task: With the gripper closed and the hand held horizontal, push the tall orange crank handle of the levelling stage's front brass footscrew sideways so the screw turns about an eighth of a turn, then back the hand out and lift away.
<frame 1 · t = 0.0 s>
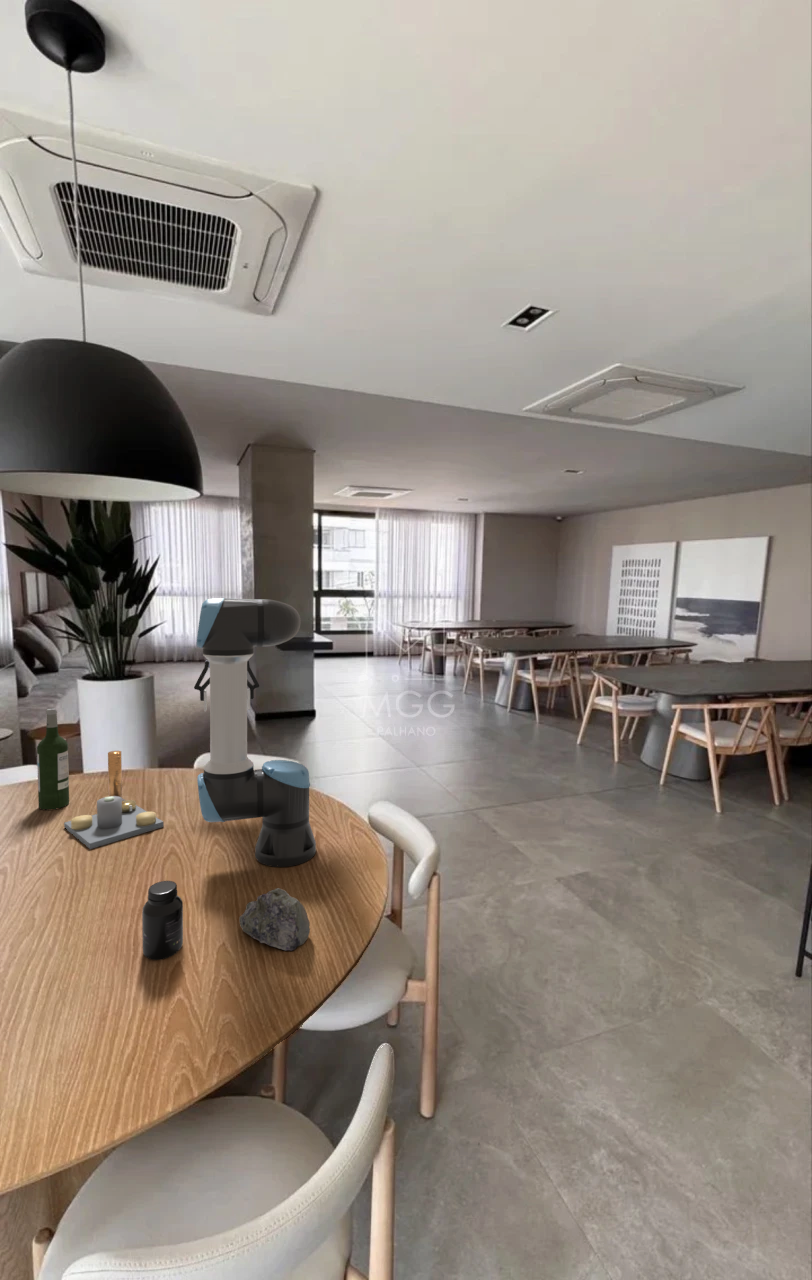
hand: (227, 709, 179), 28 cm above the table, tool pointing down, fingers open, 13 cm apart
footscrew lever: (121, 780, 162), point 10 cm above the table, hinge at 0.0°
supplement bottle: (163, 950, 100), on the table
levelling stage: (114, 827, 152), on the table
mineral rock: (275, 937, 105), on the table
wine bottle: (54, 806, 167), on the table
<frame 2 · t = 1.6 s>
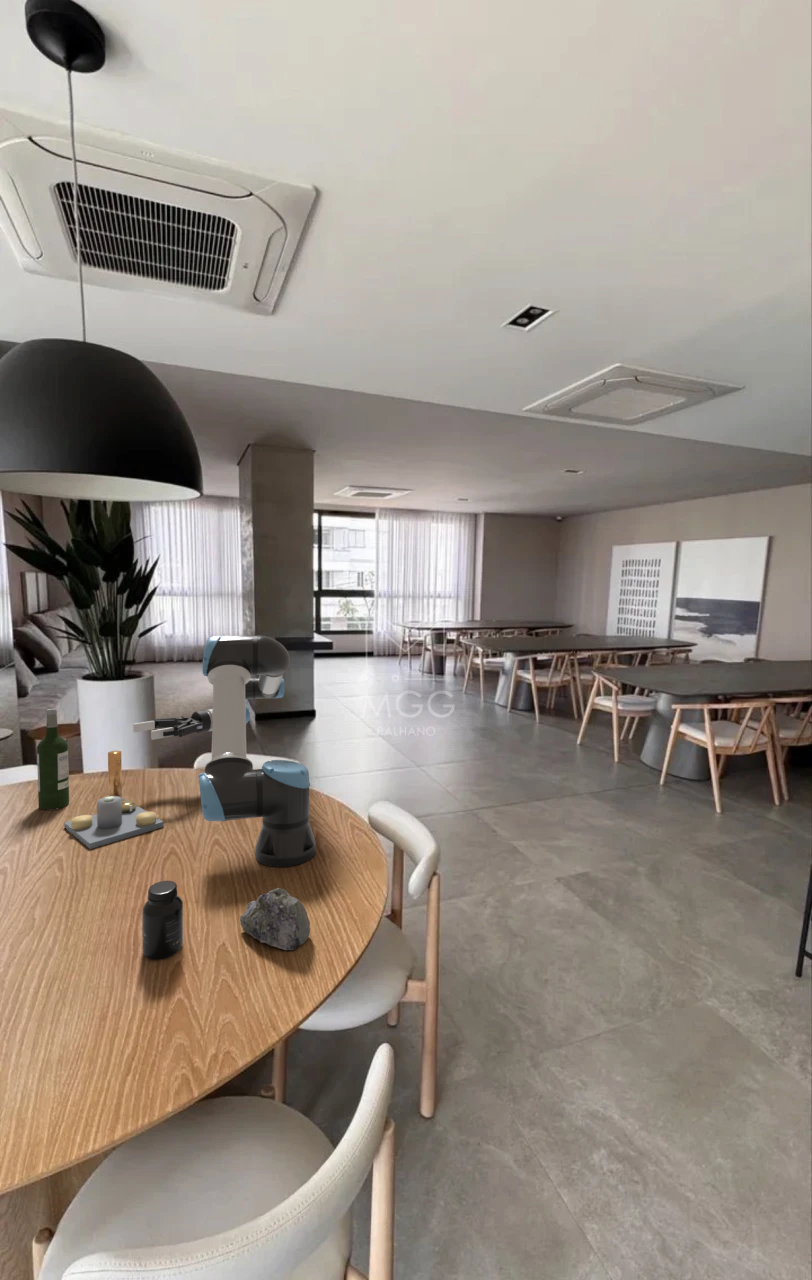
hand: (142, 731, 171), 22 cm above the table, tool horizontal, fingers open, 12 cm apart
nothing on the table moved.
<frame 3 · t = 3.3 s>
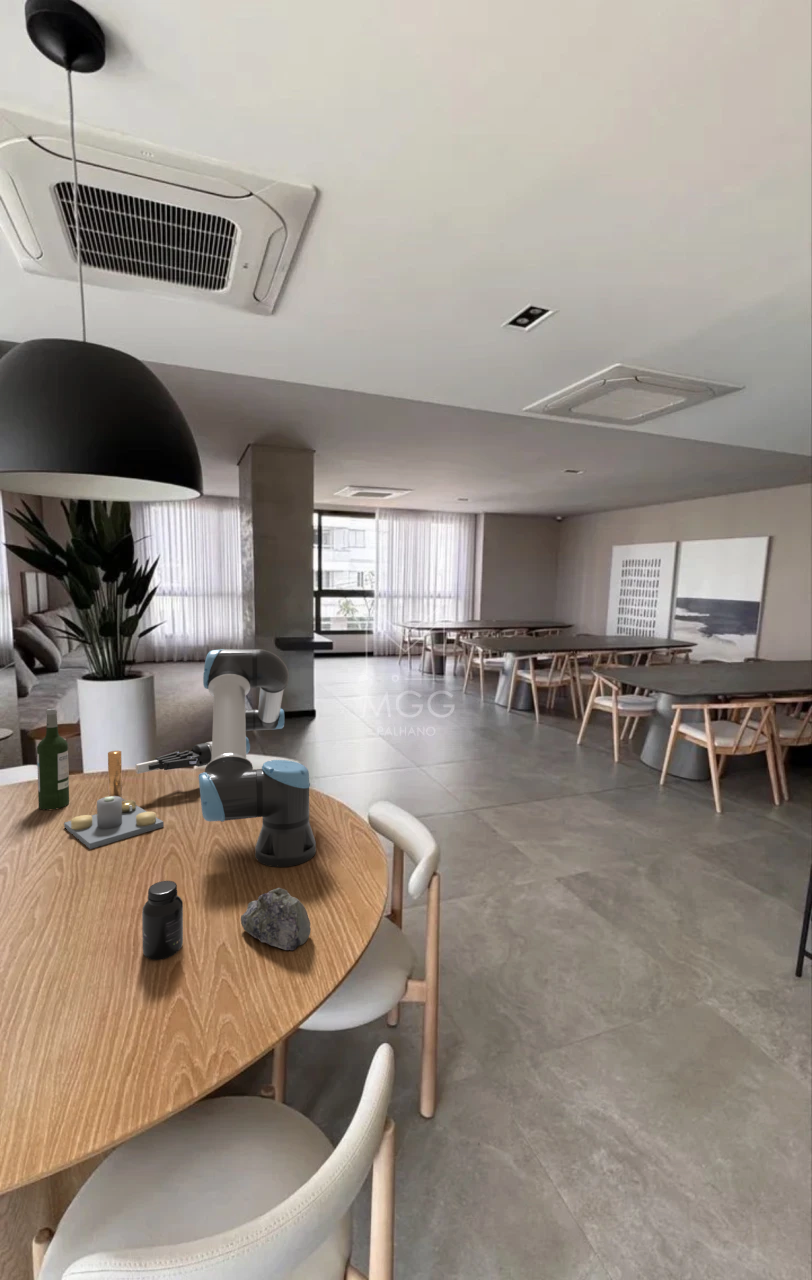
hand: (136, 769, 170), 11 cm above the table, tool horizontal, fingers closed
nothing on the table moved.
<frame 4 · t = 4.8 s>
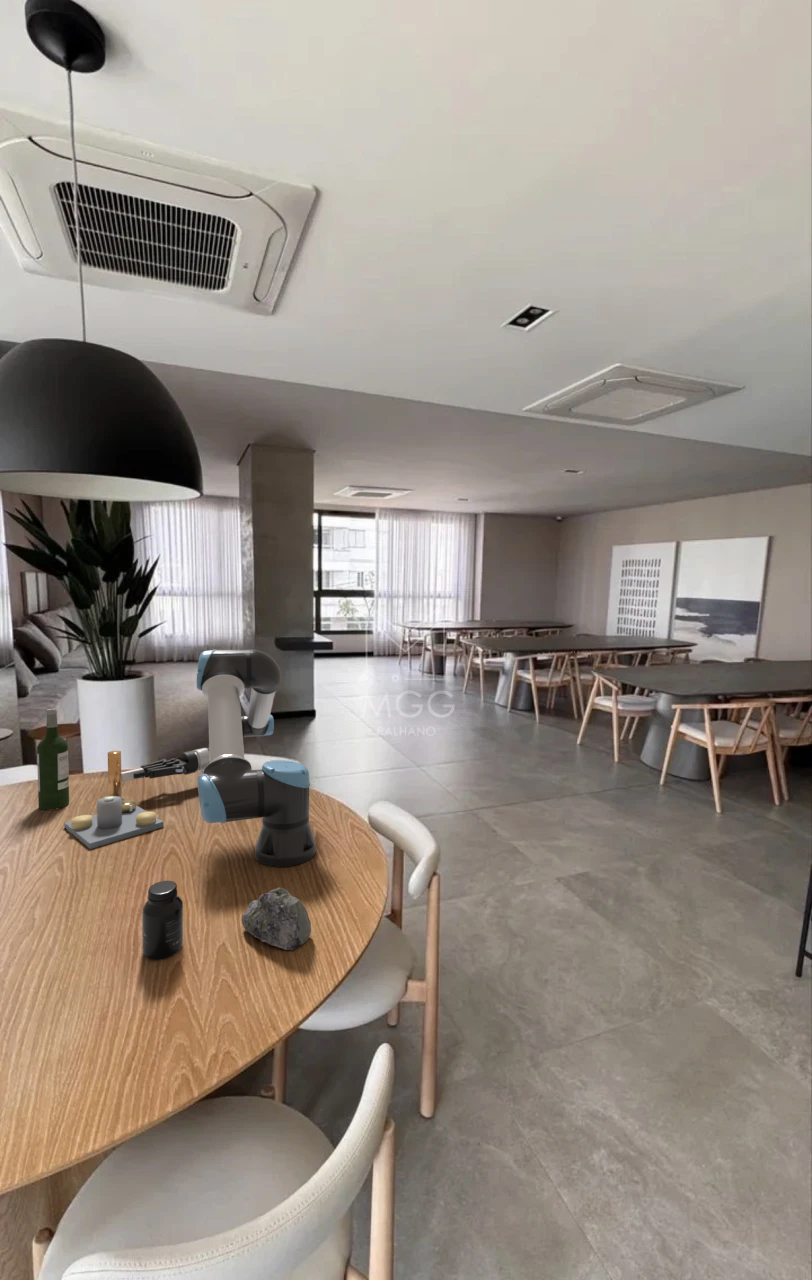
hand: (121, 777, 167), 9 cm above the table, tool horizontal, fingers closed
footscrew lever: (121, 780, 162), point 10 cm above the table, hinge at 0.6°, touching gripper
everything else where it was.
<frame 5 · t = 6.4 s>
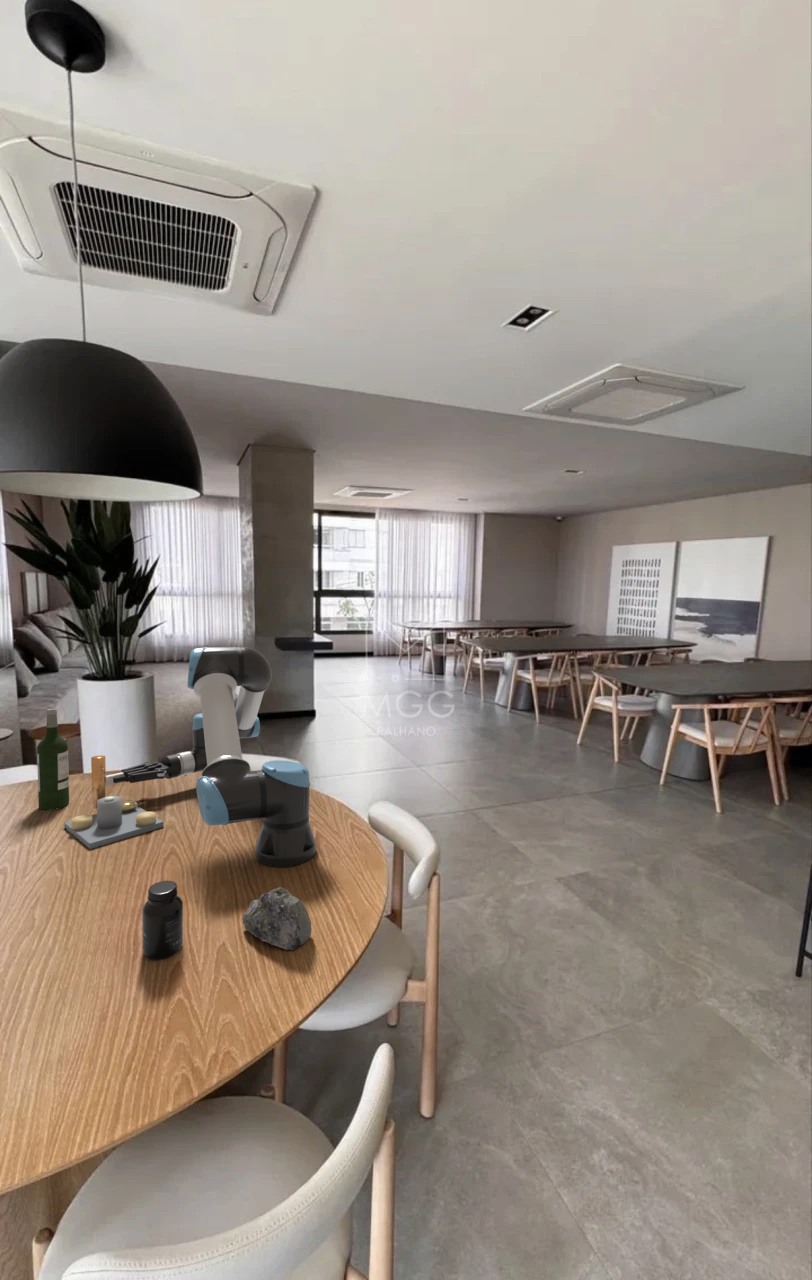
hand: (100, 782, 162), 9 cm above the table, tool horizontal, fingers closed
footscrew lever: (114, 783, 160), point 10 cm above the table, hinge at 41.3°, touching gripper
everything else where it was.
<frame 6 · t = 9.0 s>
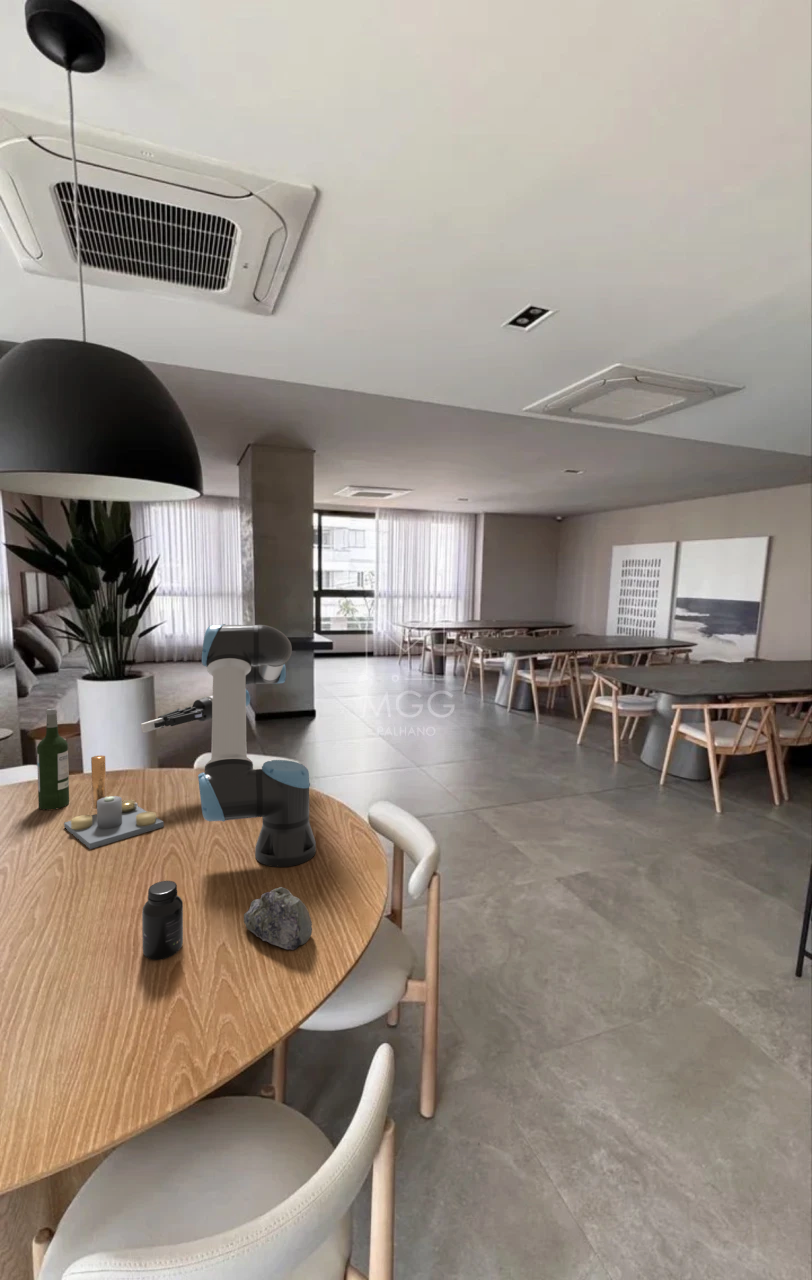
hand: (142, 728, 165), 25 cm above the table, tool horizontal, fingers closed
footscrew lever: (114, 783, 160), point 10 cm above the table, hinge at 41.5°
everything else where it was.
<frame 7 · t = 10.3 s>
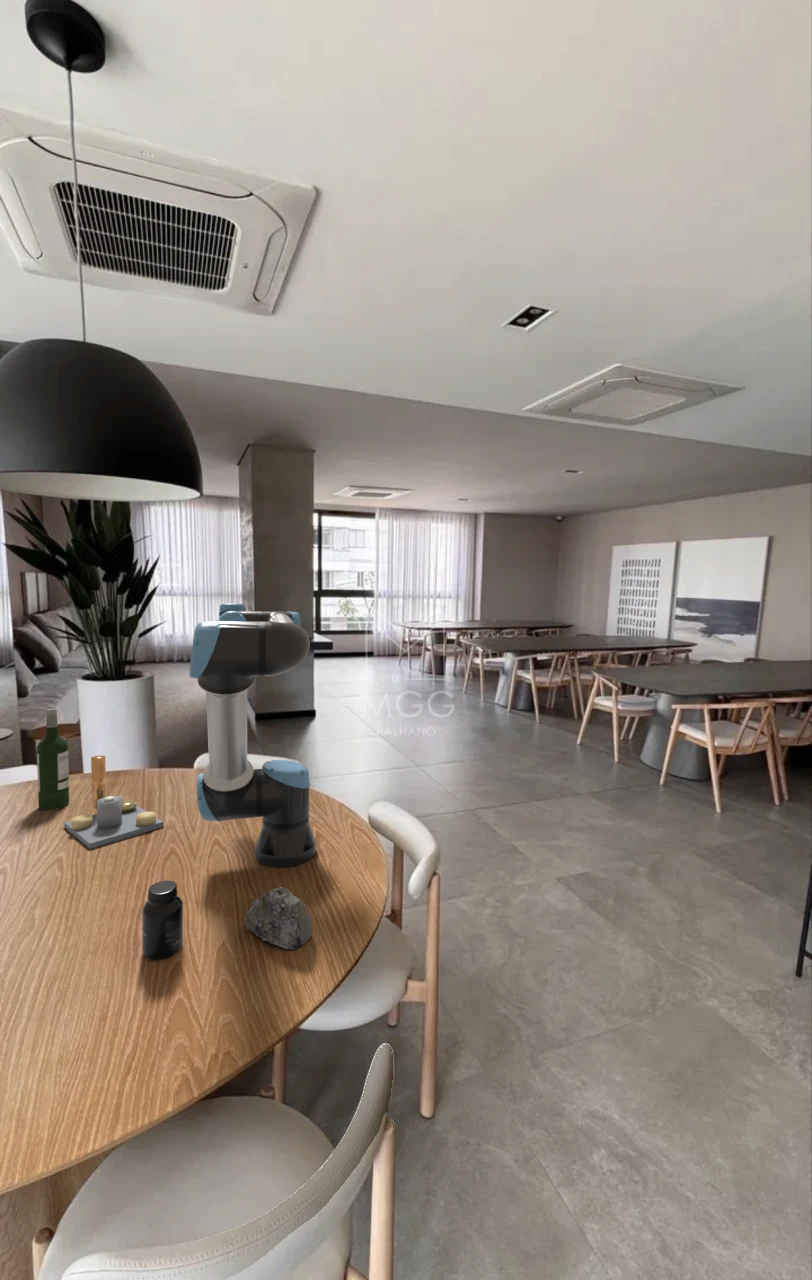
hand: (233, 734, 161), 24 cm above the table, tool pointing down, fingers closed
nothing on the table moved.
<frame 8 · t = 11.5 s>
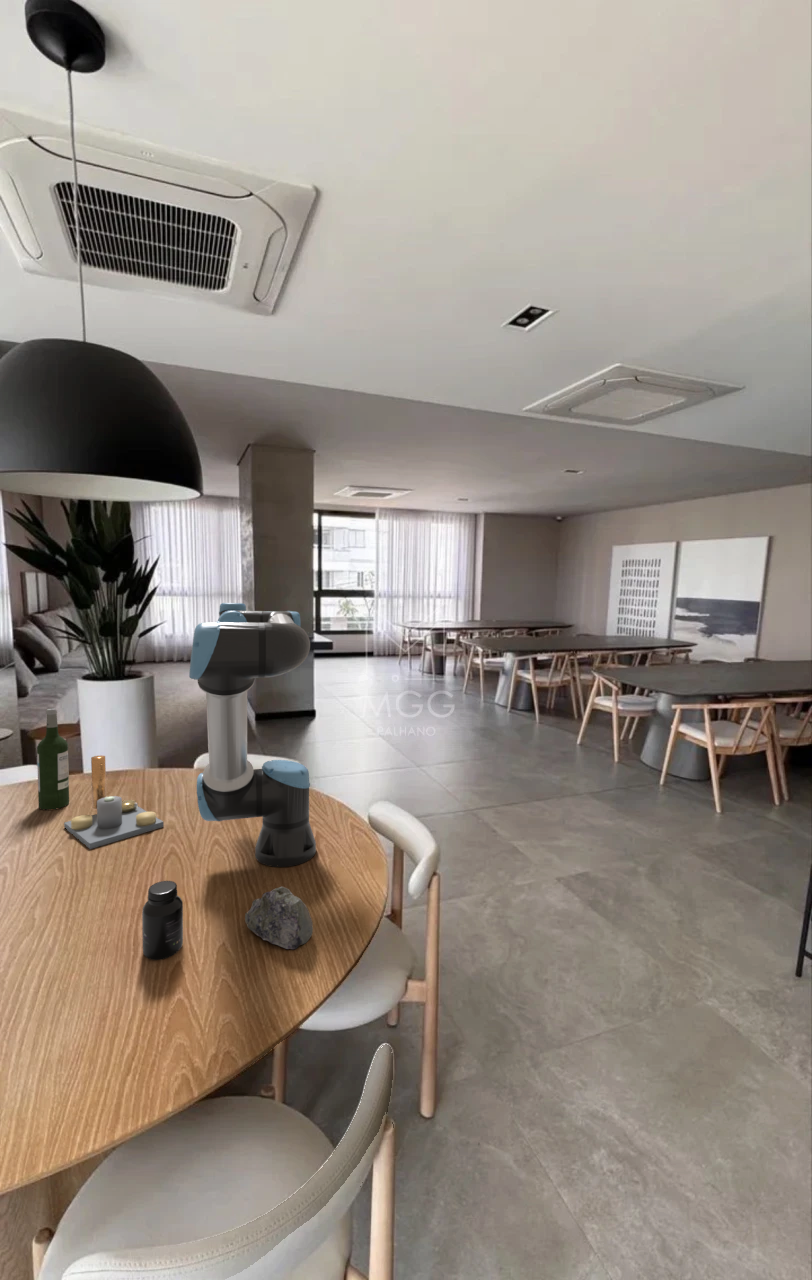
hand: (233, 734, 161), 24 cm above the table, tool pointing down, fingers closed
nothing on the table moved.
at the end: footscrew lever at +42° (first picture: +0°) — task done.
